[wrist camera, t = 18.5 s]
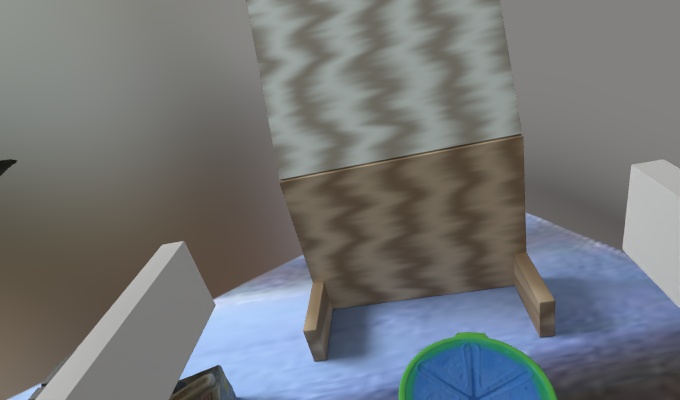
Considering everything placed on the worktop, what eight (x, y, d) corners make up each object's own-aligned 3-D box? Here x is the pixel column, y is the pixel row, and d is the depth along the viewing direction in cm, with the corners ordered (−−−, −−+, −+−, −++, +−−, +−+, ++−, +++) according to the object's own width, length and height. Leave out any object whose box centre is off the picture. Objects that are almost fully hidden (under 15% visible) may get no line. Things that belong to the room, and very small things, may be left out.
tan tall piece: (314, 361, 47) (165, -37, 28) (329, 261, 64) (243, -26, 46) (554, 335, 42) (562, -157, 24) (501, 235, 60) (482, -95, 41)
